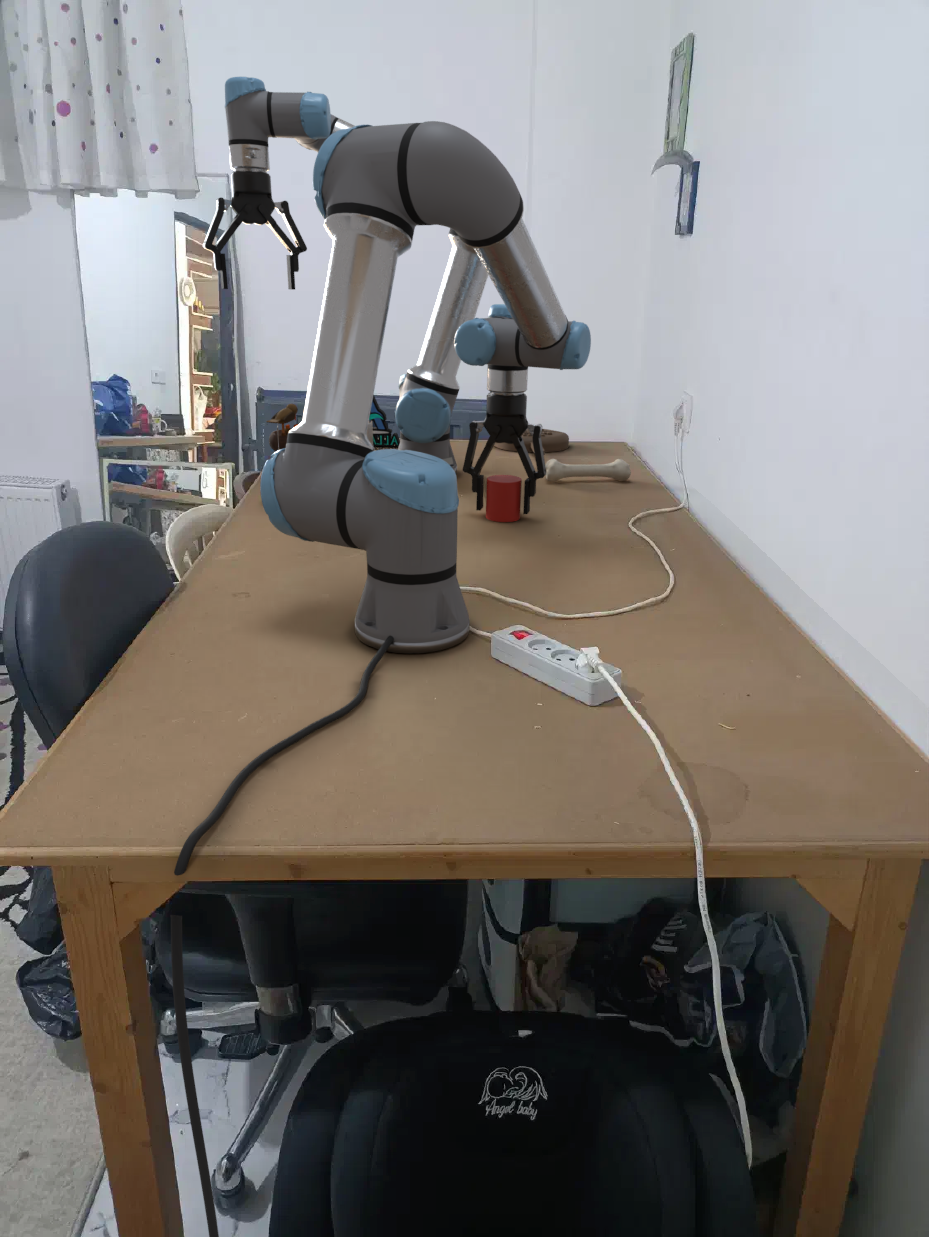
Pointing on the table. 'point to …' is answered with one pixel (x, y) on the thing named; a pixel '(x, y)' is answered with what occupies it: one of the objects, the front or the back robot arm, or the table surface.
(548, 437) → the ice cream bar
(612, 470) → the dog toy
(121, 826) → the table surface
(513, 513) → the canister
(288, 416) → the music box
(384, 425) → the decorative sign
